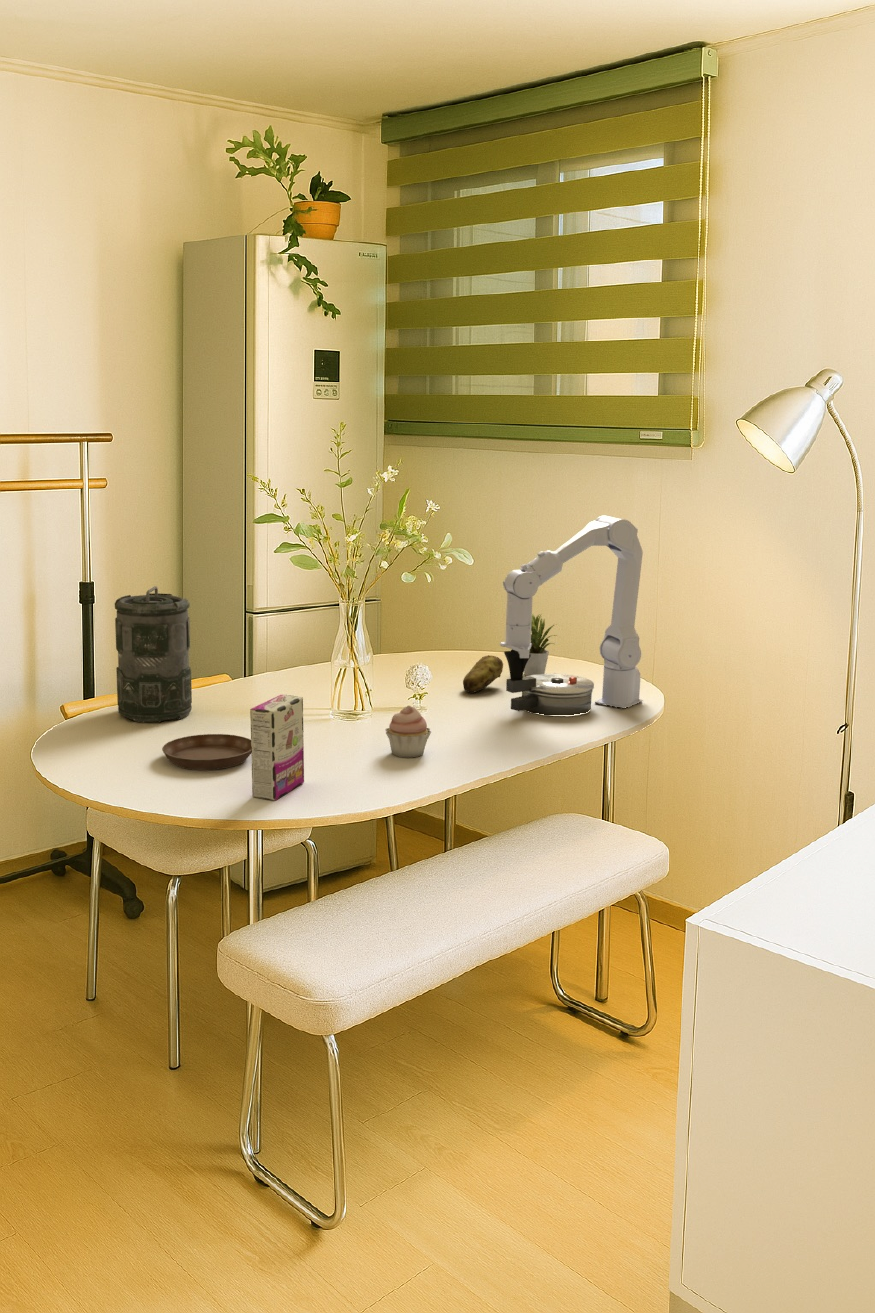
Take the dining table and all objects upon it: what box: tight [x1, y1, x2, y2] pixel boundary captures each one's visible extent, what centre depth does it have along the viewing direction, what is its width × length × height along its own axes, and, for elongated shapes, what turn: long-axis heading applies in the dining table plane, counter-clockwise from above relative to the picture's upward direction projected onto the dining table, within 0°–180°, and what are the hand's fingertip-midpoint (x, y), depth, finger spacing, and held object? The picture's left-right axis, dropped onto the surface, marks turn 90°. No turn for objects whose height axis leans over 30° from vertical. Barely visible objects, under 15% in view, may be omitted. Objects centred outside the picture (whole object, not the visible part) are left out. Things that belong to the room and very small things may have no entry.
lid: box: [505, 673, 595, 694], centre depth 274 cm, size 22×17×3 cm
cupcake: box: [385, 705, 432, 759], centre depth 237 cm, size 9×9×10 cm
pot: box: [510, 689, 594, 715], centre depth 274 cm, size 22×16×5 cm
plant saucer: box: [161, 733, 252, 771], centre depth 231 cm, size 18×18×3 cm
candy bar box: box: [249, 694, 305, 801], centre depth 213 cm, size 11×5×16 cm, turn 158°
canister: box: [114, 585, 193, 724], centre depth 259 cm, size 16×16×28 cm
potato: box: [462, 655, 504, 693], centre depth 291 cm, size 8×13×8 cm, turn 126°
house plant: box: [523, 613, 558, 677], centre depth 308 cm, size 14×14×16 cm
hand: (516, 682), depth 271 cm, fingers closed, pressing on lid
